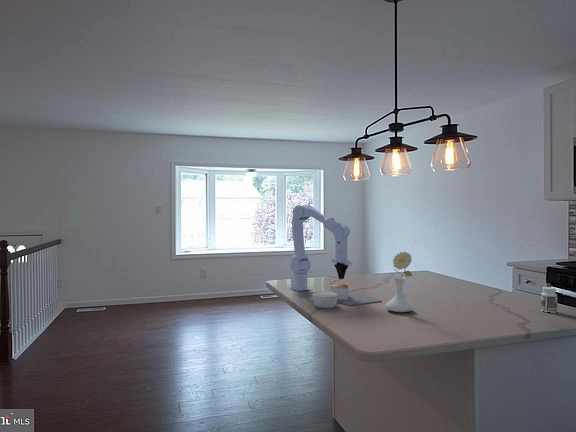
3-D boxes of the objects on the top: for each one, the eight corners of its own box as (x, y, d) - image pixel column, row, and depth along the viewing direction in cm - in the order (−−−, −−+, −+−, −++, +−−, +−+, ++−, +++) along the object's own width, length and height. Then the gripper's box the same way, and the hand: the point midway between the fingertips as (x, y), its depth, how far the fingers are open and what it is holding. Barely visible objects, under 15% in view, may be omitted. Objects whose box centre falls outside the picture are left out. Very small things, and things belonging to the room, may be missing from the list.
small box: (348, 284, 194) (348, 288, 184) (348, 295, 194) (348, 300, 184) (331, 283, 195) (330, 287, 185) (331, 295, 195) (330, 299, 185)
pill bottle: (558, 311, 167) (559, 287, 167) (555, 314, 163) (555, 289, 163) (542, 309, 171) (543, 286, 171) (539, 311, 167) (539, 287, 167)
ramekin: (315, 309, 170) (315, 297, 170) (309, 303, 181) (309, 291, 181) (341, 308, 172) (341, 296, 172) (334, 302, 183) (334, 290, 183)
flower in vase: (379, 309, 171) (380, 249, 170) (401, 306, 175) (402, 249, 174) (399, 316, 159) (399, 253, 158) (422, 314, 163) (423, 252, 162)
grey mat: (326, 297, 192) (326, 296, 192) (358, 294, 200) (358, 293, 200) (348, 305, 176) (348, 304, 176) (381, 301, 184) (381, 300, 184)
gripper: (357, 251, 190) (357, 280, 190) (340, 249, 203) (339, 276, 204) (344, 252, 187) (344, 281, 187) (328, 249, 200) (327, 277, 200)
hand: (341, 278), depth 195 cm, fingers closed
